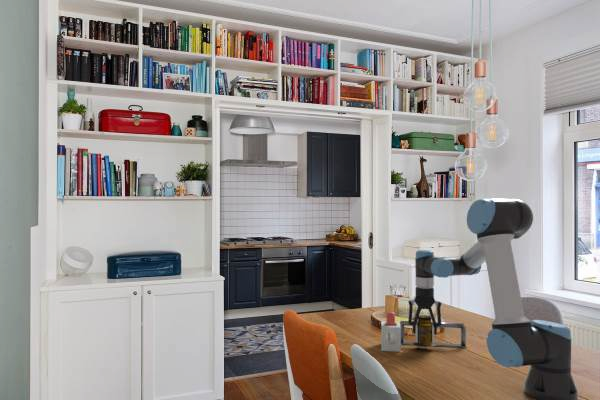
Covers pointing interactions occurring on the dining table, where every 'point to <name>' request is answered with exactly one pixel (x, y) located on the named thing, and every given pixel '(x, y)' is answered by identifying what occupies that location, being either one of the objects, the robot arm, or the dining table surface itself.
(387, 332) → the cabinet
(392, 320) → the plunger
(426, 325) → the condiment
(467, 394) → the dining table surface
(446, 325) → the handrail
